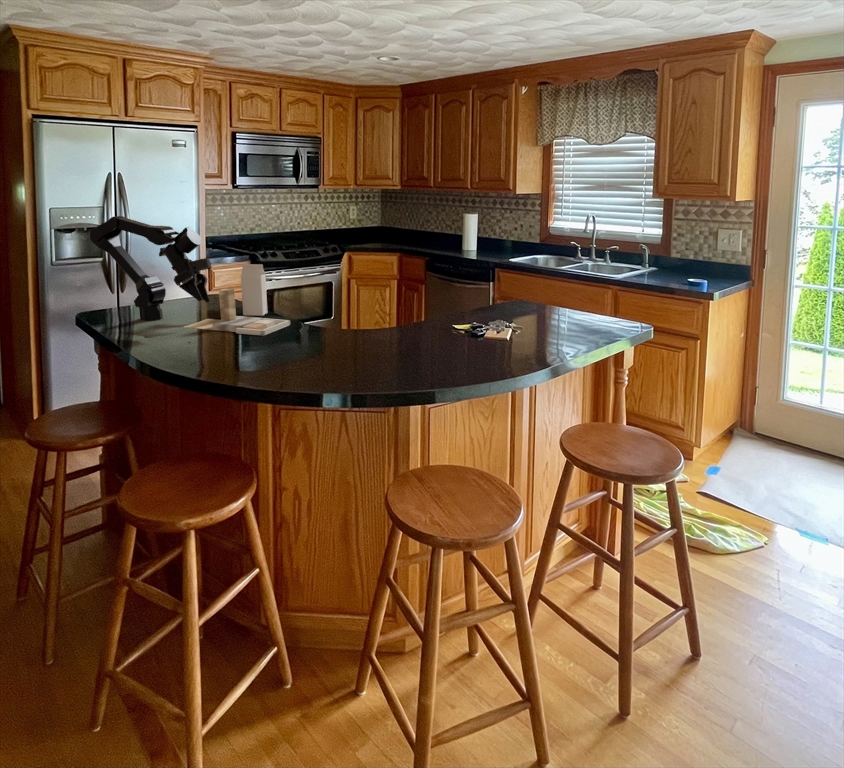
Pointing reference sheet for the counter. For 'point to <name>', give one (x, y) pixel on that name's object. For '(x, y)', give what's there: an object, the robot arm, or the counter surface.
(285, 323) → the tray
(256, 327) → the tile
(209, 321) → the board
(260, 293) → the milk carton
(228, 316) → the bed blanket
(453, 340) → the counter surface
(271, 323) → the tile
